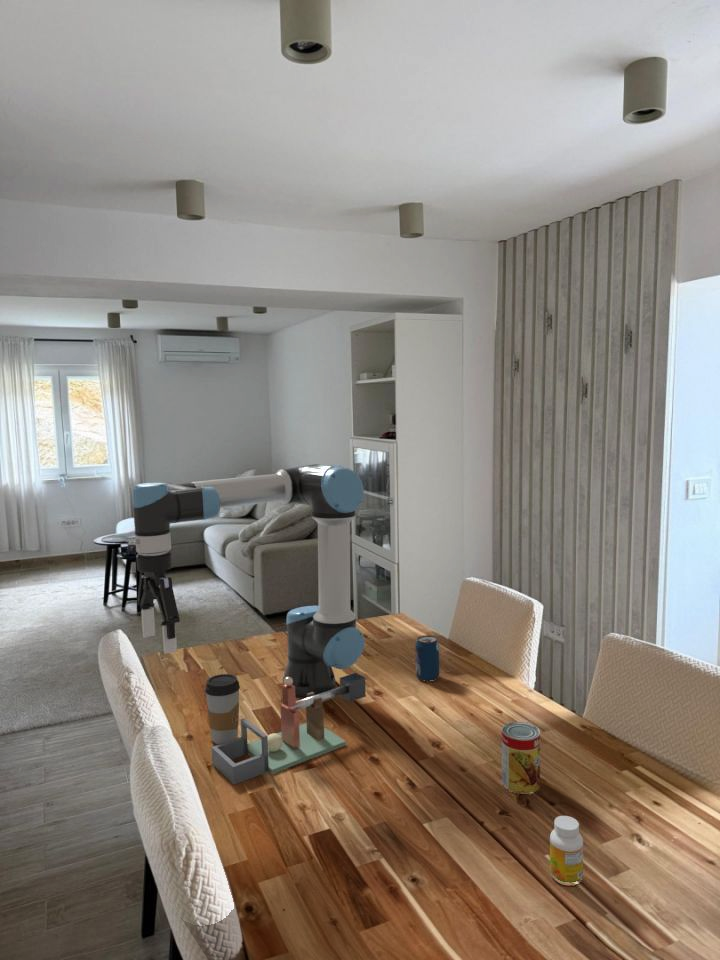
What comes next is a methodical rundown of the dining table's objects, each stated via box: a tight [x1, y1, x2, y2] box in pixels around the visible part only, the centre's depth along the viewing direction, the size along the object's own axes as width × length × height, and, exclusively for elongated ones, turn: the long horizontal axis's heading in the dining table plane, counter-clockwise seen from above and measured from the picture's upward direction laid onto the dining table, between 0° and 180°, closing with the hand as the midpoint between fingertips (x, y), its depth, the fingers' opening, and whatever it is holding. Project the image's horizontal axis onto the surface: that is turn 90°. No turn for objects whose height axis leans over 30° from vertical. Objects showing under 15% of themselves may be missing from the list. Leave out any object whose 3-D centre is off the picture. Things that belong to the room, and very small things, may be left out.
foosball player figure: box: [305, 692, 325, 740], centre depth 162 cm, size 2×5×11 cm, turn 37°
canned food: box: [501, 721, 541, 794], centre depth 141 cm, size 8×8×12 cm
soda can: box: [414, 635, 440, 681], centre depth 198 cm, size 7×7×12 cm
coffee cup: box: [204, 673, 241, 745], centre depth 164 cm, size 8×8×15 cm
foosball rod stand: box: [279, 672, 367, 749], centre depth 164 cm, size 22×6×16 cm, turn 127°
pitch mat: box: [247, 722, 347, 775], centre depth 159 cm, size 20×14×1 cm
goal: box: [211, 717, 269, 786], centre depth 150 cm, size 8×11×8 cm
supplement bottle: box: [549, 815, 584, 883], centre depth 113 cm, size 5×5×10 cm
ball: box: [267, 733, 282, 752], centre depth 156 cm, size 4×4×4 cm
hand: (159, 643), depth 152 cm, fingers open, 13 cm apart
